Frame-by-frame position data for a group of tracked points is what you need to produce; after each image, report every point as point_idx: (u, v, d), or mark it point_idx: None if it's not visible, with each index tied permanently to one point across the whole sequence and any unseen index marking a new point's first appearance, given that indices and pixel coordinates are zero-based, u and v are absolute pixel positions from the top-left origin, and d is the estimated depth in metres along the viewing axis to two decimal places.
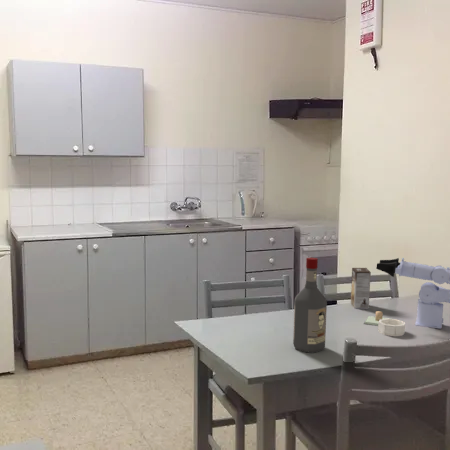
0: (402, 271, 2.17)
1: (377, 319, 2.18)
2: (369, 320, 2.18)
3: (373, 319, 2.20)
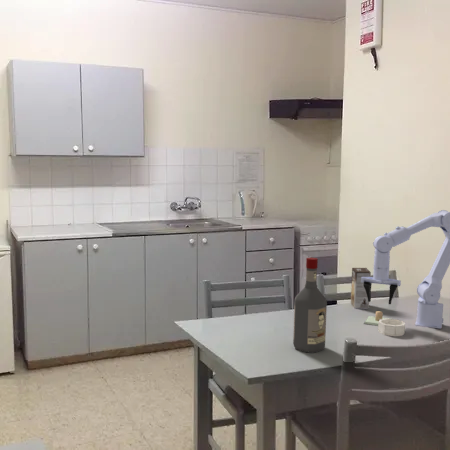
0: (388, 278, 2.16)
1: (377, 319, 2.18)
2: (369, 320, 2.18)
3: (373, 319, 2.20)
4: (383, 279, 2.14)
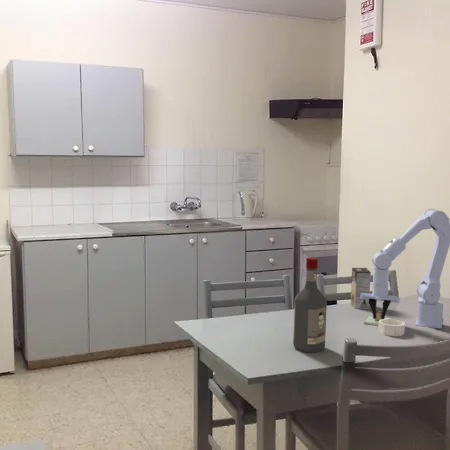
0: (387, 295, 2.17)
1: (377, 319, 2.18)
2: (369, 320, 2.18)
3: (373, 319, 2.20)
4: (382, 296, 2.15)
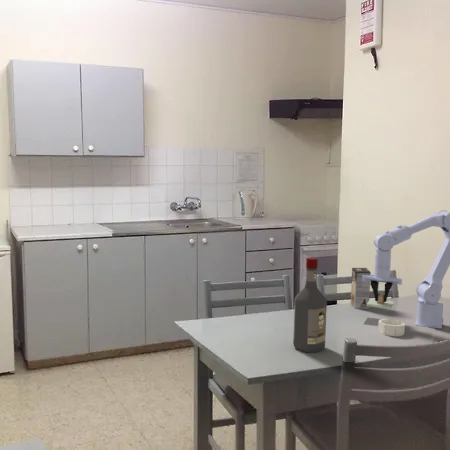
0: (389, 276, 2.15)
1: (379, 301, 2.16)
2: (371, 302, 2.16)
3: (375, 301, 2.18)
4: (384, 277, 2.13)
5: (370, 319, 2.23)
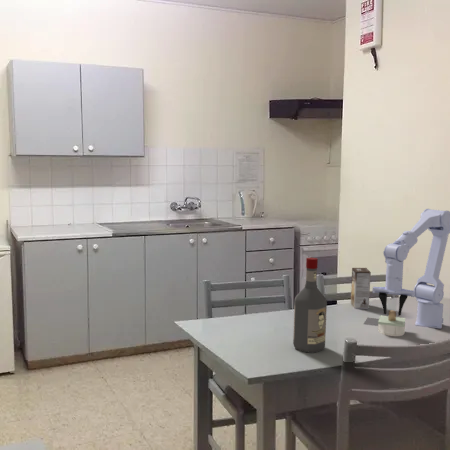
0: None
1: (390, 319, 2.05)
2: (382, 320, 2.05)
3: (386, 319, 2.07)
4: (396, 289, 2.02)
5: (370, 319, 2.23)
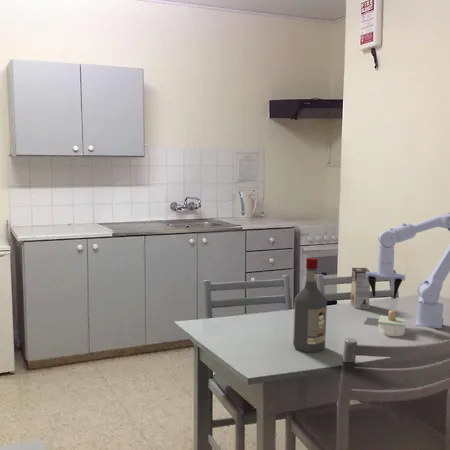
0: None
1: (390, 319, 2.05)
2: (382, 320, 2.05)
3: (386, 319, 2.07)
4: (388, 274, 2.15)
5: (370, 319, 2.23)
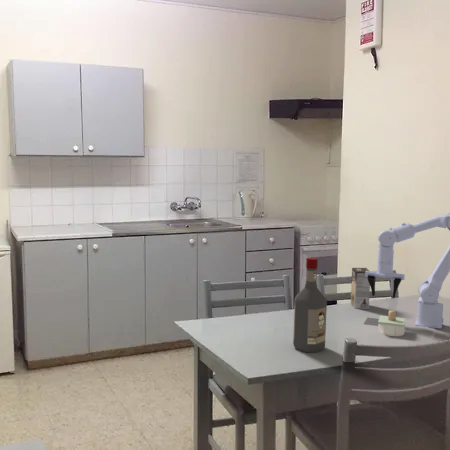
0: None
1: (390, 319, 2.05)
2: (382, 320, 2.05)
3: (386, 319, 2.07)
4: (387, 273, 2.16)
5: (370, 319, 2.23)
